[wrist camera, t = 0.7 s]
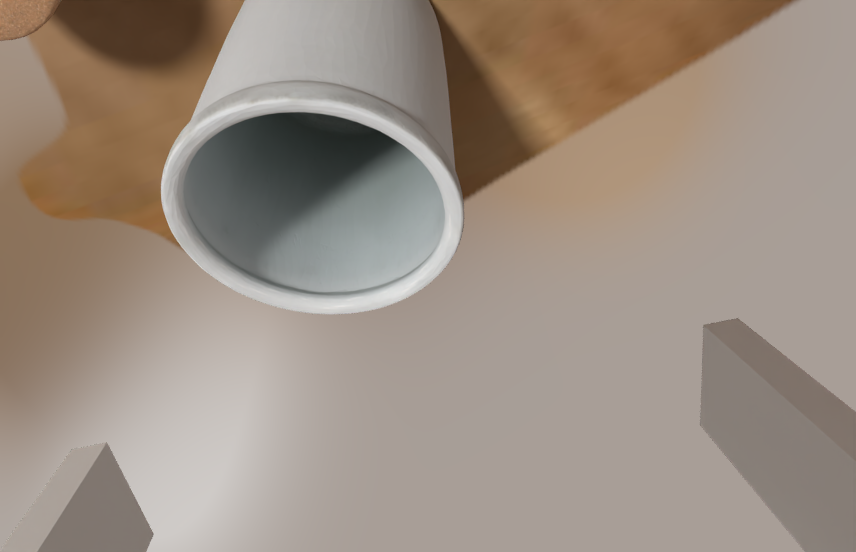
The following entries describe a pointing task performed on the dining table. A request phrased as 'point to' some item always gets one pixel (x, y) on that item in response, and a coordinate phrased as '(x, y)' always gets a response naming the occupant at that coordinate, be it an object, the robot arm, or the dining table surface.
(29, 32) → the lidded jar
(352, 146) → the utensil holder
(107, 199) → the dining table surface
